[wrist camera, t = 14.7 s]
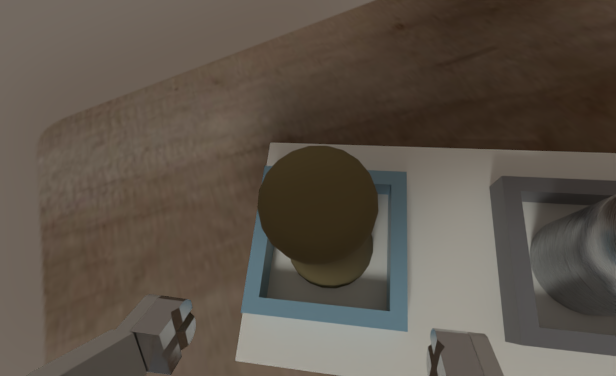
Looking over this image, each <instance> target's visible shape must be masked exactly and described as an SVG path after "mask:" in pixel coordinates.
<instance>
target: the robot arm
mask: <svg viewBox="0 0 616 376" xmlns="http://www.w3.org/2000/svg"><path fill="white" fill-rule="evenodd" d="M191 309H192V304H191V300H188V299H182V298H176V297H169V296H161V295H154V294H149V295H147V296H145V297H144V298H143V299H142V300H141V301H140V302H139V304H138V305H137V306H136V307H135V308H134V309H133V310H132V311H131V313H130V314H129V315H128V316H127V317H126V318H125V319H124V321H123V322H122V323H121V324H120V325H119V326H118V327H117V328H116V330H109V331H107V332H106V333H104V334H102V335H100V336H98V337H96V338H94V339H93V340H91V341H89V342H87V343H85V344H83V345H81V346H79V347H78V348H76V349H74V350H72V351H70V352H68V353H66V354H65V355H63V356H61V357H59V358H57V359H55V360H53V361H51V362H50V363H48V364H46V365H44V366H42V367H40V368H38V369H37V370H35V371H33V372H31V373H29V374H28V375H27V376H145V375H146V374H147V372H152V373H160V374H167V375H171V374H172V372H173V371H174V369H175V367H176V366H177V364H178V362H179V361H180V359H181V357H182V355H181V350H182V349H184V348H185V347H187V346H188V345H189V344H190V342H191V340H192V338H193V335H194V332H195V328H196V321H195V317H194V316H193V315H192V314H191V313H190V311H191ZM430 340H431V345H430V346H428V349H427V358H426V365H427V373H428V376H504V375H503V372H502V370H501V367H500V365H499V363H498V360H497V358H496V356H495V353H494V351H493V348H492V346H491V344H490V341H489V339H488V337H487V336H486V335H485V334H483V333H474V332H465V331H456V330H447V329H438V328H432V330H431V334H430Z"/></svg>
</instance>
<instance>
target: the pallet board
mask: <svg viewBox="0 0 616 376" xmlns="http://www.w3.org/2000/svg"><path fill="white" fill-rule="evenodd" d="M307 146H330V147H334V148H337V149H341V150H344V151H345V152H347V153H349V154H350V155H352V156H353V157H355V158H357V159H358V160H359V161H360V162H361V164H362V165H363V166H364V167H365V168H366V170H367V171H368V172H369V173H370V175H371V177H372V180H373V182H374V185H375V188H376V190H377V193H378V215H377V218H376V221H375V224H374V228H373V231H372V233H371V235H372V238H373V254H372V257H371V260H370V264H369V266H368V267H367V269H366V270H365V271H364V273H363V274H362V276H361V277H359V278H358V279H357V280H355V281H354V282H352V283H351V284H349V285H346V286H343V287H339V288H321V287H319V286H316V285H313V284H311V283H309V282H308V281H306V280H305V279H304V278H303V277H302V276H300V275H299V274H298V272H297V271H296V269H295V267H294V266H293V264H292V263H291V259H290V258H288V257H287V256H285V255H284V254H283V253H282V252H281V251H279V250H278V249H277V248H276V247H274V246H273V245H272V244H271V243H270V241H269V239H268V238H267V236H266V234H265V233H264V231H263V229H262V227H261V222H260V218H259V213H258V210H257V216H256V222H255V228H254V234H253V241H252V247H251V253H250V259H249V265H248V271H247V277H246V284H245V290H244V296H243V302H242V308H241V313H243V316H242V322H241V328H240V334H239V340H238V347H237V353H236V359H235V361H240V362H247V363H255V364H262V365H269V366H276V367H283V368H290V369H297V370H304V371H311V372H318V373H325V374H333V375H340V376H428V373H427V365H426V358H427V349H428V346H430V345H431V340H430V334H431V330H432V328H438V329H447V330H456V331H465V332H474V333H483V334H485V335H486V336H487V337H488V339H489V341H490V344H491V346H492V348H493V351H494V353H495V356H496V358H497V360H498V363H499V365H500V367H501V370H502V372H503V375H504V376H616V316H594V315H586V314H582V313H578V312H575V311H573V310H570V309H568V308H566V307H564V306H563V305H561V304H560V303H558V302H557V301H555V300H554V299H553V298H552V297H550V296H549V295H548V294H547V293H546V292H545V291H544V289H543V288H542V287H541V286H540V284H539V282H538V281H537V279H536V277H535V275H534V273H533V270H532V268H531V263H530V255H529V254H530V246H531V242H532V240H533V238H534V236H535V235H536V233H537V232H538V231H539V230H540V229H541V228H542V227H543V226H545V225H546V224H548V223H550V222H553V221H555V220H557V219H560V218H562V217H564V216H567V215H569V214H571V213H574V212H576V211H578V210H581V209H583V208H585V207H588V206H590V205H592V204H595V203H597V202H599V201H602V200H604V199H606V198H609V197H611V196H613V195H616V153H593V152H561V151H528V150H496V149H464V148H431V147H399V146H367V145H334V144H302V143H270V148H269V154H268V160H267V166H265V167H264V173H263V179H262V182H263V180H264V178H265V175H266V173H267V172H268V171H269V170H270V169H271V168H272V166H273V165H274V164H275V163H276V162H277V161H278V160H279V159H281V158H282V157H284V156H285V155H287V154H288V153H290V152H292V151H294V150H297V149H301V148H304V147H307Z"/></svg>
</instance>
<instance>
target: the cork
mask: <svg viewBox="0 0 616 376" xmlns="http://www.w3.org/2000/svg"><path fill="white" fill-rule="evenodd" d="M257 207H258V213H259V218H260V222H261V227H262V229H263V231H264V233H265V234H266V236H267V238H268V239H269V241H270V243H271V244H272V245H273V246H274V247H276V248H277V249H278V250H279V251H281V252H282V253H283V254H284V255H285V256H287V257H288V258H290V259H291V263H292V264H293V266H294V267H295V269H296V271H297V272H298V274H299V275H300V276H302V277H303V278H304V279H305V280H306V281H308V282H309V283H311V284H313V285H316V286H319V287H321V288H339V287H343V286H346V285H349V284H351V283H352V282H354V281H355V280H357V279H358V278H359V277H361V276H362V274H363V273H364V271H365V270H366V269H367V267H368V266H369V264H370V260H371V257H372V254H373V238H372V235H371V233H372V231H373V228H374V224H375V221H376V218H377V215H378V193H377V190H376V188H375V185H374V182H373V180H372V177H371V175H370V173H369V172H368V171H367V170H366V168H365V167H364V166H363V165H362V164H361V162H360V161H359V160H358V159H357V158H355V157H353V156H352V155H350V154H349V153H347V152H345V151H344V150H341V149H337V148H334V147H330V146H307V147H304V148H301V149H297V150H294V151H292V152H290V153H288V154H287V155H285V156H284V157H282V158H281V159H279V160H278V161H277V162H276V163H275V164H274V165H273V166H272V168H271V169H270V170H269V171H268V172H267V173H266V175H265V178H264V180H263V182H262V185H261V187H260V189H259V197H258V206H257Z"/></svg>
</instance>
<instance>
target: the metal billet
mask: <svg viewBox="0 0 616 376" xmlns="http://www.w3.org/2000/svg"><path fill="white" fill-rule="evenodd" d="M529 255H530V263H531V268H532V270H533V273H534V275H535V277H536V279H537V281H538V282H539V284H540V286H541V287H542V288H543V289H544V291H545V292H546V293H547V294H548V295H549V296H550V297H552V298H553V299H554V300H555V301H557V302H558V303H560V304H561V305H563V306H564V307H566V308H568V309H570V310H573V311H575V312H578V313H582V314H586V315H594V316H616V195H613V196H611V197H609V198H606V199H604V200H602V201H599V202H597V203H595V204H592V205H590V206H588V207H585V208H583V209H581V210H578V211H576V212H574V213H571V214H569V215H567V216H564V217H562V218H560V219H557V220H555V221H553V222H550V223H548V224H546V225H545V226H543V227H542V228H541V229H540V230H539V231H538V232H537V233H536V235H535V236H534V238H533V240H532V242H531V246H530V254H529Z"/></svg>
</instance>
